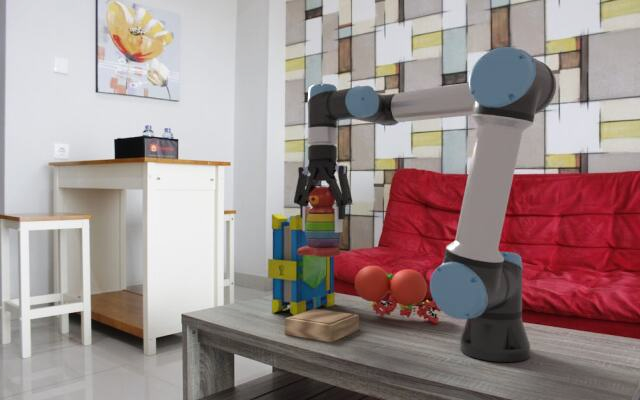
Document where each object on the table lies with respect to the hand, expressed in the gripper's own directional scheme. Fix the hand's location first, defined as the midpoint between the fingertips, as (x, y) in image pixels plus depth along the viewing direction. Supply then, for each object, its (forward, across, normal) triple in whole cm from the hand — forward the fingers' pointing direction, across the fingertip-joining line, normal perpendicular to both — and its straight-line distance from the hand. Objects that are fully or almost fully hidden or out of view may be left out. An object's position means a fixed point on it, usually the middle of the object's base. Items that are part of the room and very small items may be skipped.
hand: (322, 231), depth 133 cm
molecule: (+27, -11, -22) cm, 36 cm away
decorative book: (+26, +19, -20) cm, 38 cm away
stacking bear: (+6, 0, 0) cm, 6 cm away
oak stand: (+26, 0, 0) cm, 26 cm away
